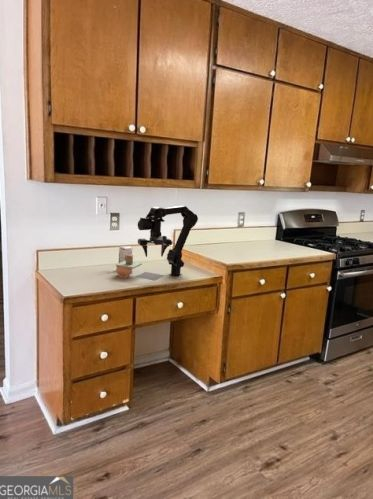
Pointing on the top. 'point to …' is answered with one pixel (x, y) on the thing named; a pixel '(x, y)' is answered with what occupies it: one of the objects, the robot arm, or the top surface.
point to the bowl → (123, 272)
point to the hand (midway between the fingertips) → (154, 256)
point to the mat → (150, 276)
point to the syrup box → (124, 253)
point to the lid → (129, 263)
